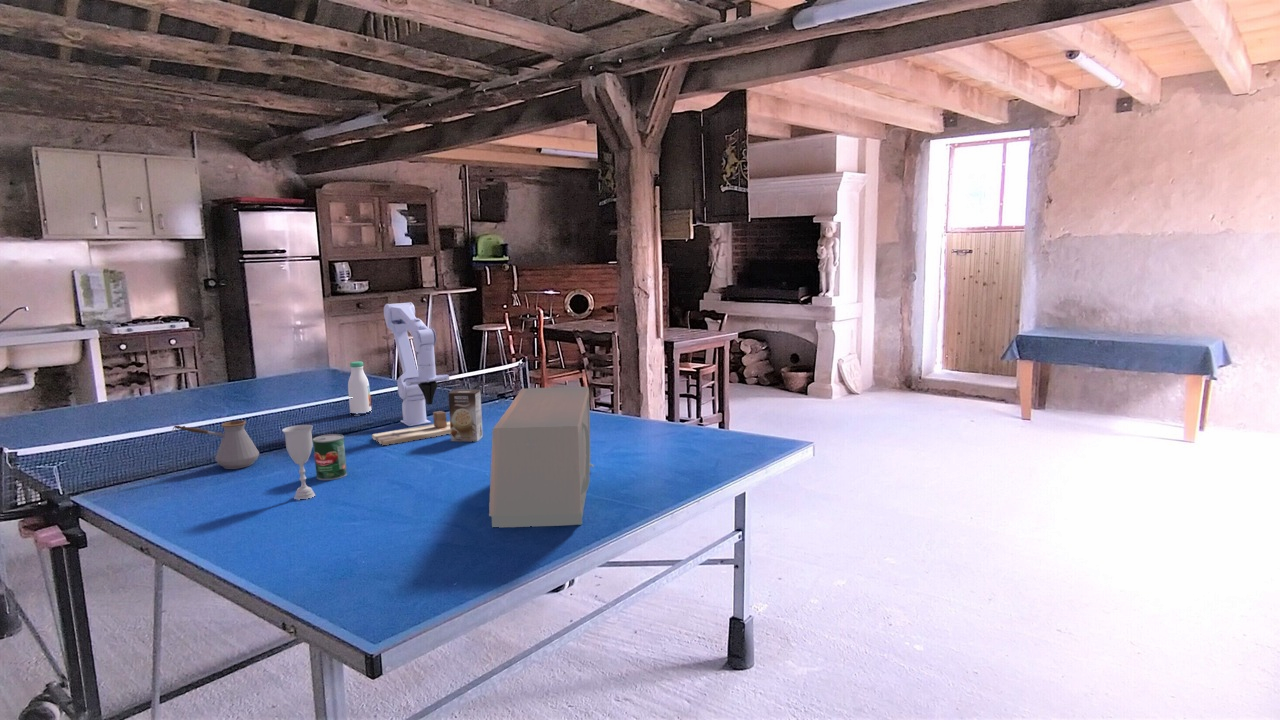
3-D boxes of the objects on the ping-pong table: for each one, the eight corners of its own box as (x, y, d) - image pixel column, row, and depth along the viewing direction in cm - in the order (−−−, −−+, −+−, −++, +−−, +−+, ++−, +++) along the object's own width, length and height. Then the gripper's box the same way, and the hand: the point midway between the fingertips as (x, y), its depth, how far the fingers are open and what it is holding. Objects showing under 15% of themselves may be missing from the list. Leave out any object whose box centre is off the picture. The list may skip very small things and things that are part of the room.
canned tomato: (347, 470, 212) (343, 432, 211) (347, 478, 205) (343, 439, 203) (317, 473, 210) (313, 436, 208) (315, 482, 202) (311, 442, 201)
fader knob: (434, 425, 254) (433, 412, 254) (442, 424, 256) (441, 410, 255) (438, 428, 251) (437, 414, 251) (446, 426, 253) (445, 412, 252)
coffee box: (450, 441, 240) (446, 393, 238) (456, 436, 246) (453, 389, 244) (477, 441, 239) (474, 392, 237) (483, 436, 245) (480, 388, 243)
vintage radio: (518, 470, 208) (515, 387, 204) (599, 469, 208) (597, 386, 204) (483, 532, 163) (477, 428, 160) (585, 531, 163) (582, 426, 159)
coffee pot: (252, 457, 228) (247, 409, 226) (266, 464, 220) (260, 415, 218) (173, 473, 213) (166, 422, 211) (184, 482, 205) (177, 429, 203)
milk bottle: (367, 415, 281) (362, 363, 278) (347, 416, 281) (342, 364, 278) (374, 411, 289) (370, 360, 286) (355, 411, 289) (350, 360, 286)
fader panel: (372, 438, 247) (372, 434, 246) (453, 424, 263) (452, 420, 263) (383, 446, 237) (383, 441, 237) (466, 431, 253) (466, 426, 253)
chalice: (299, 503, 185) (292, 433, 183) (283, 498, 189) (276, 429, 186) (325, 494, 192) (319, 426, 189) (309, 490, 195) (302, 423, 192)
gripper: (409, 368, 244) (412, 409, 246) (451, 363, 253) (454, 402, 255) (402, 366, 250) (405, 405, 252) (443, 361, 258) (446, 399, 260)
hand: (429, 403), depth 254 cm, fingers closed
